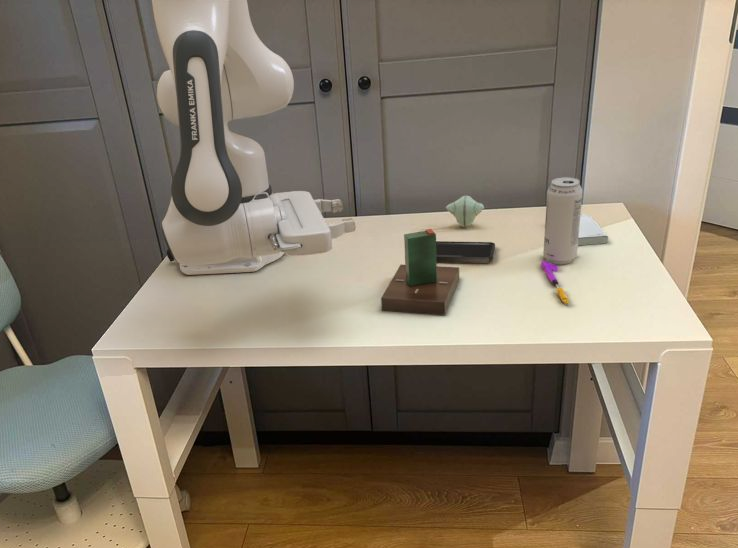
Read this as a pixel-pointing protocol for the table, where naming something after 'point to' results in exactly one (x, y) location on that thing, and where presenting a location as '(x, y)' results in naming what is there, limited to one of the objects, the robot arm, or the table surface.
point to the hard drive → (590, 231)
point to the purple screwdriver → (554, 279)
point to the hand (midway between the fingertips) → (348, 214)
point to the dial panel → (421, 293)
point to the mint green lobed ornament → (465, 210)
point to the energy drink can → (562, 220)
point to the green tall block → (420, 257)
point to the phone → (465, 252)
